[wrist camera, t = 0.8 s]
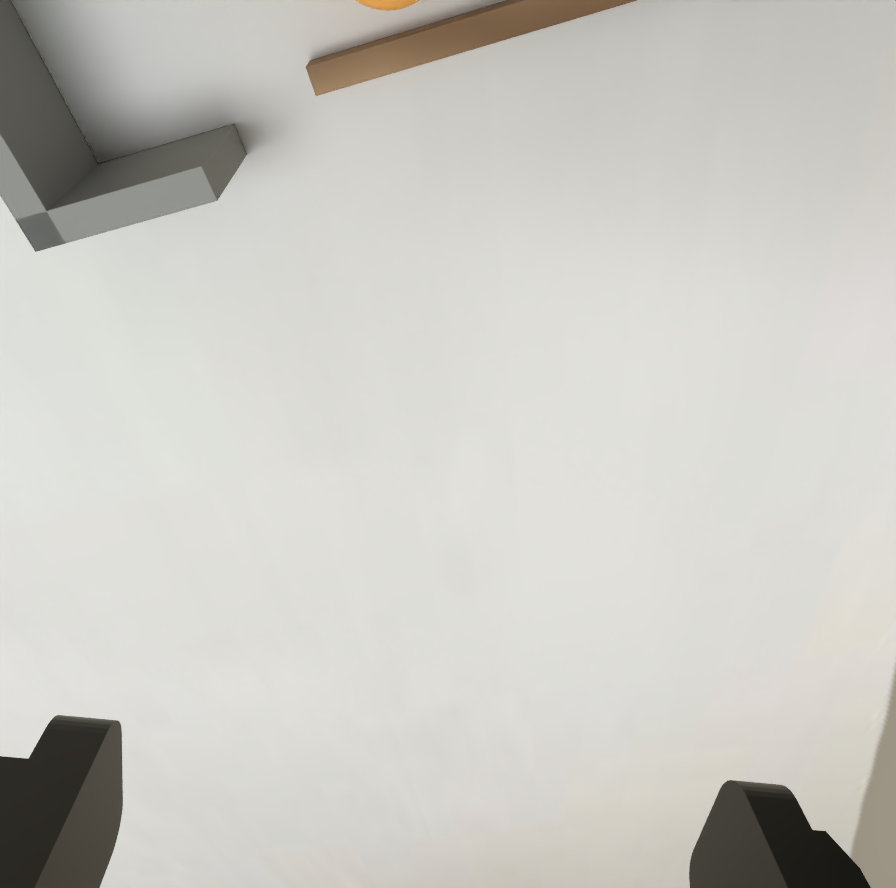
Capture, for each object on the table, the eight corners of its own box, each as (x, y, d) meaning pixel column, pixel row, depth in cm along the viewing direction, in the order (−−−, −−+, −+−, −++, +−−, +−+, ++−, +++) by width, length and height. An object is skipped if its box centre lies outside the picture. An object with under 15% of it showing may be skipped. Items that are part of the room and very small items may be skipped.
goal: (-95, -123, 25) (-196, -117, 21) (99, -196, 24) (31, -205, 20) (87, 200, 32) (35, 251, 28) (246, 154, 31) (216, 200, 27)
